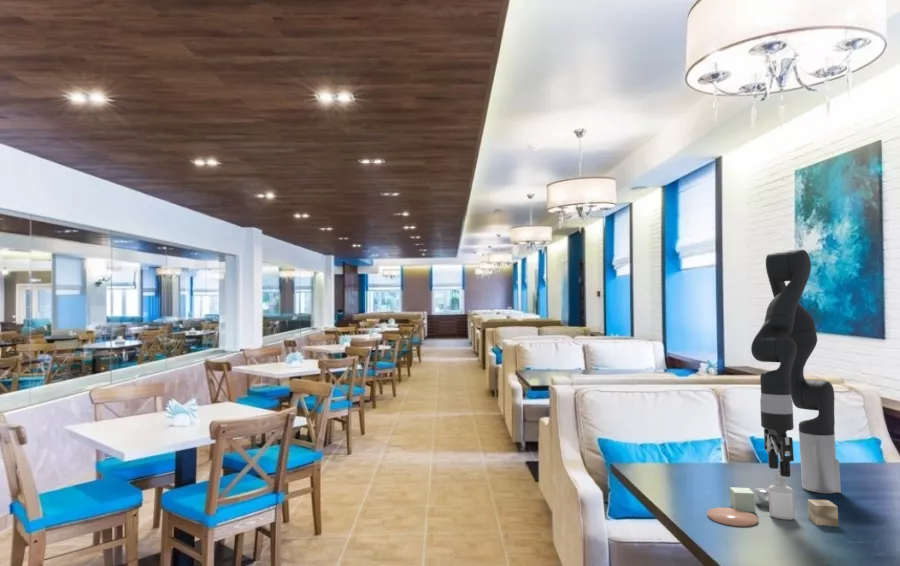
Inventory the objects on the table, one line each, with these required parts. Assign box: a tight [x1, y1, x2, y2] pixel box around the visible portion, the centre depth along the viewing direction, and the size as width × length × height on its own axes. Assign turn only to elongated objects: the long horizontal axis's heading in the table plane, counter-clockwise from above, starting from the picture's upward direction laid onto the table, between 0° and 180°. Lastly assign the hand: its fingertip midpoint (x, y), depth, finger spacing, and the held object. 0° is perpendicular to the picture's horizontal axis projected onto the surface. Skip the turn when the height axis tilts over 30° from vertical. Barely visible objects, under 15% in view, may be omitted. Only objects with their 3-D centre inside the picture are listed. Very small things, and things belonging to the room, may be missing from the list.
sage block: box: [729, 486, 756, 513], centre depth 156 cm, size 5×5×5 cm
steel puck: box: [753, 487, 769, 509], centre depth 158 cm, size 5×5×4 cm
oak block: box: [807, 498, 839, 527], centre depth 144 cm, size 5×5×5 cm
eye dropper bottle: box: [768, 470, 796, 521], centre depth 148 cm, size 4×6×12 cm
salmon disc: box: [706, 507, 759, 528], centre depth 148 cm, size 12×12×1 cm
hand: (779, 472), depth 149 cm, fingers open, 8 cm apart
